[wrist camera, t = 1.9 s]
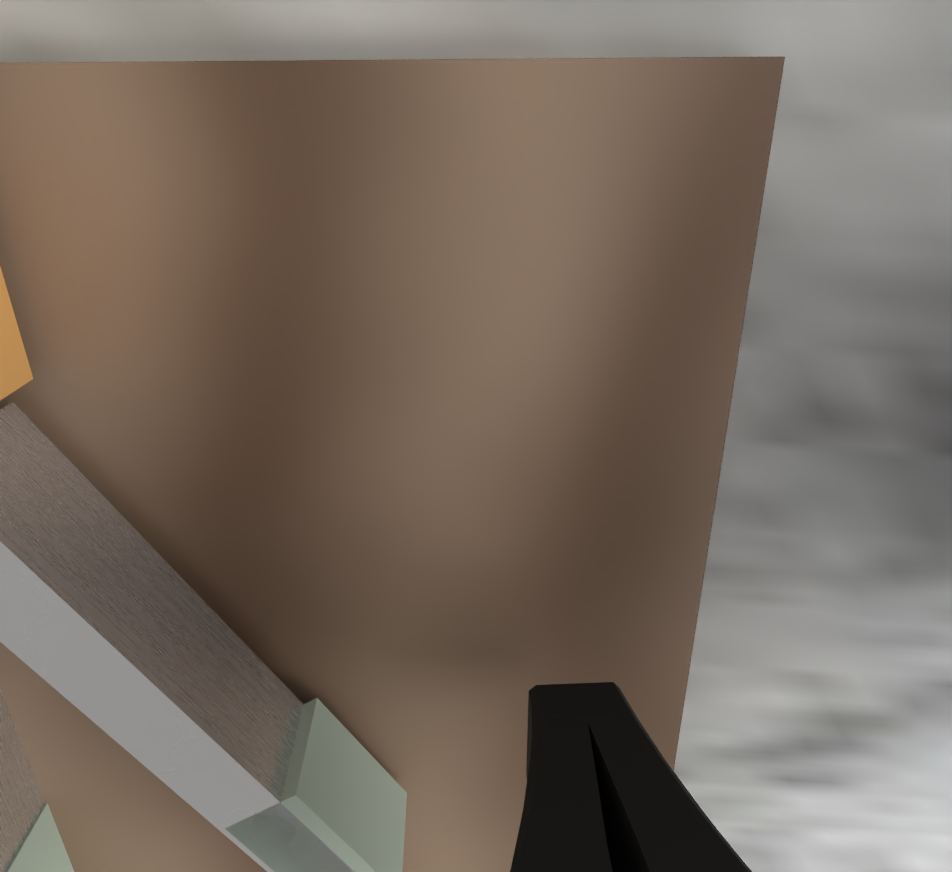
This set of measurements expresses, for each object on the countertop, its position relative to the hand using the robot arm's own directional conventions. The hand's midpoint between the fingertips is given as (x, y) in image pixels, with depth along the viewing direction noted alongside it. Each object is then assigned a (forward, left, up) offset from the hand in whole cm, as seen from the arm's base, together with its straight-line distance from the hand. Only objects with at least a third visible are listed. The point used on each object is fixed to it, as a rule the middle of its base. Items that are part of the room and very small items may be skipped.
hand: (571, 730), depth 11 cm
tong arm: (+6, -1, -2) cm, 6 cm away
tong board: (+5, -2, -3) cm, 6 cm away
